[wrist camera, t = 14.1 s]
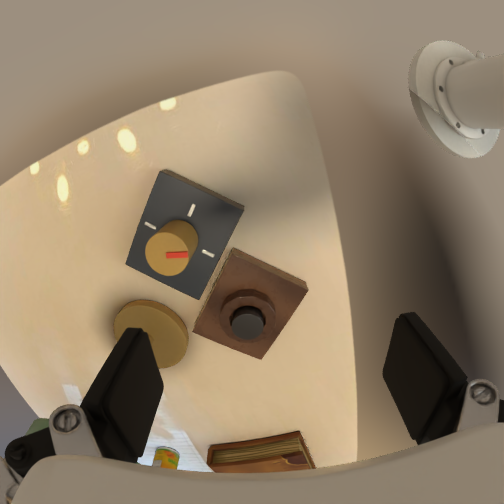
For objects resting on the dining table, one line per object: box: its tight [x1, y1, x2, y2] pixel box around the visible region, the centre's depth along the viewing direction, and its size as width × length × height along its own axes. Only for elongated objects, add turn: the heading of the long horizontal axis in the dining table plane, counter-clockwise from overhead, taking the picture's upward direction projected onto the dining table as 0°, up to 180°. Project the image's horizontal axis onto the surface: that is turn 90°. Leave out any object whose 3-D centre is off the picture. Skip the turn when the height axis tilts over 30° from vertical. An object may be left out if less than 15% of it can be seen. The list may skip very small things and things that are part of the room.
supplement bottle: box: [152, 447, 179, 469], centre depth 46 cm, size 5×5×10 cm
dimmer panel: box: [126, 170, 244, 300], centre depth 32 cm, size 12×10×3 cm
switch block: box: [193, 248, 308, 359], centre depth 35 cm, size 12×10×4 cm
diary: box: [207, 431, 316, 473], centre depth 48 cm, size 23×19×6 cm
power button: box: [231, 306, 264, 340], centre depth 33 cm, size 4×4×2 cm
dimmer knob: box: [145, 220, 198, 276], centre depth 29 cm, size 4×4×5 cm
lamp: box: [25, 300, 188, 464], centre depth 24 cm, size 13×13×32 cm
